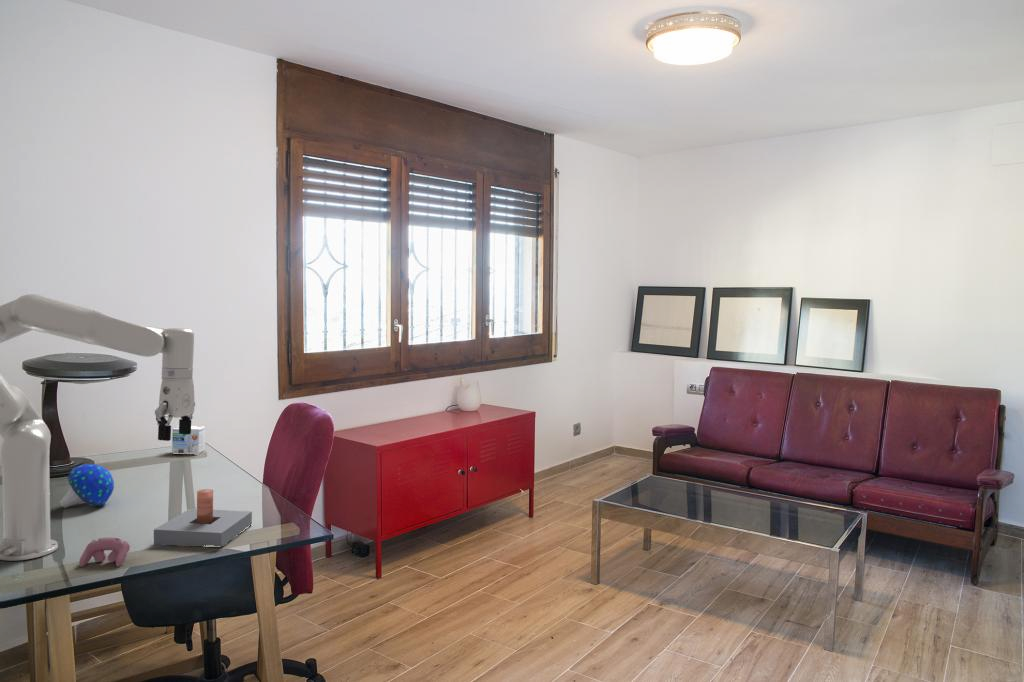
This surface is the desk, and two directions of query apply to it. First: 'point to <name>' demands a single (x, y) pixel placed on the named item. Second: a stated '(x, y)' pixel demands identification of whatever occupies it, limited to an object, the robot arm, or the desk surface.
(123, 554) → the video game controller
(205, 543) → the socket plate
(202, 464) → the desk surface
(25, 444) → the robot arm
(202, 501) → the dowel
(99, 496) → the mushroom
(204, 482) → the desk surface
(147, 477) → the desk surface
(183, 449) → the light bulb box
